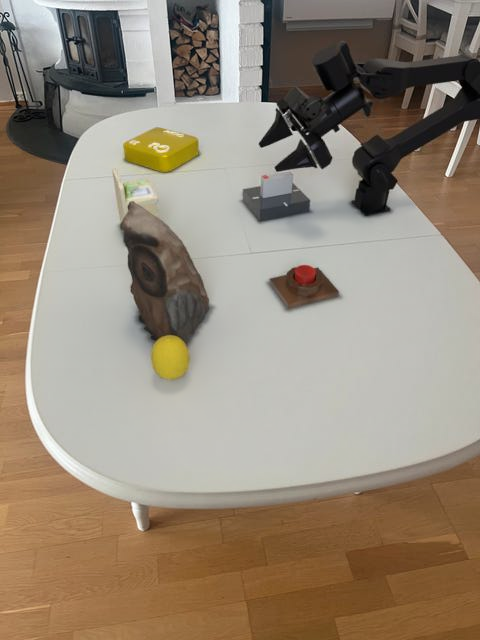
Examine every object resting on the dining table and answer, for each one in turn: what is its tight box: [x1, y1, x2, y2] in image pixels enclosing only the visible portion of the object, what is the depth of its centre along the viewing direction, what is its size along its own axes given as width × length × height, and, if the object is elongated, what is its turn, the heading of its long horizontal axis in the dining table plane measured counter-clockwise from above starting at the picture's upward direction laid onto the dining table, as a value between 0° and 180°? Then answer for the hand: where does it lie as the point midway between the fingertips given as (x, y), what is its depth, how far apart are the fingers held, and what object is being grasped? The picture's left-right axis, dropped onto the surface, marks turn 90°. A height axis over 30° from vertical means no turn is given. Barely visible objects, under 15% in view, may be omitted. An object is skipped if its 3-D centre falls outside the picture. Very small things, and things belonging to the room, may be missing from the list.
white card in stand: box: [260, 171, 294, 198], centre depth 114 cm, size 7×2×5 cm, turn 111°
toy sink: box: [111, 168, 159, 233], centre depth 105 cm, size 8×7×13 cm
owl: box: [119, 201, 211, 345], centre depth 81 cm, size 13×13×20 cm
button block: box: [269, 266, 340, 310], centre depth 94 cm, size 10×8×3 cm
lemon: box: [150, 335, 191, 381], centre depth 76 cm, size 6×6×8 cm
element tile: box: [122, 126, 200, 173], centre depth 136 cm, size 15×15×5 cm
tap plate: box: [242, 182, 311, 223], centre depth 117 cm, size 12×11×3 cm
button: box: [294, 264, 316, 284], centre depth 92 cm, size 4×4×2 cm
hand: (267, 157), depth 104 cm, fingers open, 9 cm apart
